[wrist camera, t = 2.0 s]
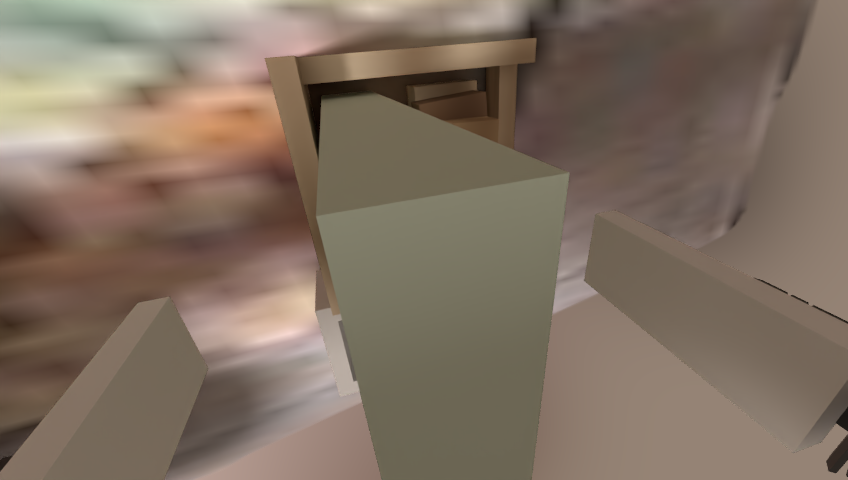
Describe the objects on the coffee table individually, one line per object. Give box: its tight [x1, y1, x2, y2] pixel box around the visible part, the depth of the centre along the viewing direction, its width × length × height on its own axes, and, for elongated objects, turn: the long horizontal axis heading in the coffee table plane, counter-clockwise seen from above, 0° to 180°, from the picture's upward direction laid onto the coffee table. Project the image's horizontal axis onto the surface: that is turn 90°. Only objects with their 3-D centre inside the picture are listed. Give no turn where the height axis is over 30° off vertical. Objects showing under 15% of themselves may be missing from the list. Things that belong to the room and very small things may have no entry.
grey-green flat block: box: [316, 91, 569, 480], centre depth 15 cm, size 3×10×20 cm, turn 4°
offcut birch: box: [406, 80, 477, 108], centre depth 24 cm, size 4×10×2 cm, turn 4°
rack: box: [265, 38, 536, 316], centre depth 21 cm, size 14×14×6 cm
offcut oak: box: [443, 116, 499, 143], centre depth 20 cm, size 4×6×2 cm, turn 2°
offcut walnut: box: [411, 90, 487, 120], centre depth 22 cm, size 4×9×2 cm, turn 8°
